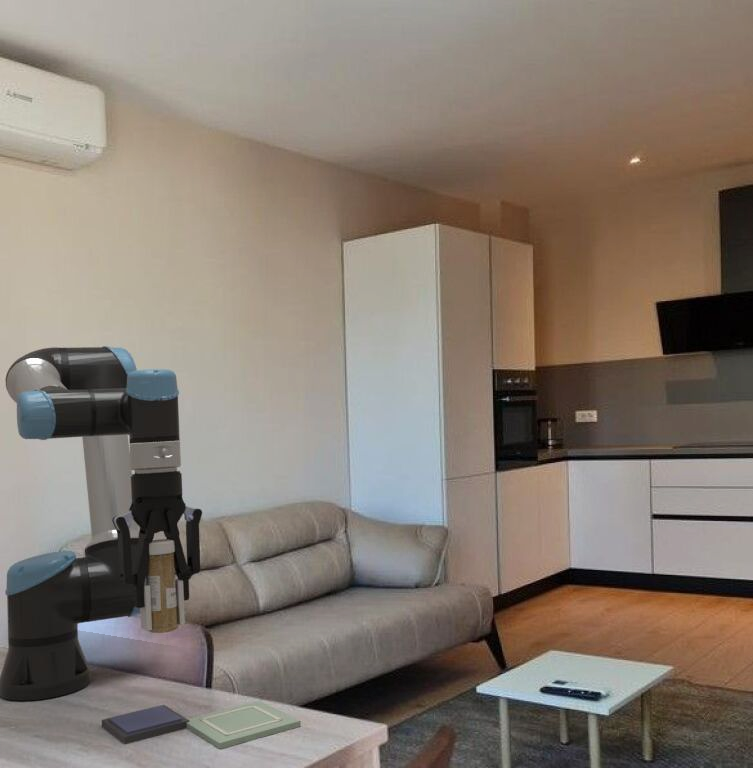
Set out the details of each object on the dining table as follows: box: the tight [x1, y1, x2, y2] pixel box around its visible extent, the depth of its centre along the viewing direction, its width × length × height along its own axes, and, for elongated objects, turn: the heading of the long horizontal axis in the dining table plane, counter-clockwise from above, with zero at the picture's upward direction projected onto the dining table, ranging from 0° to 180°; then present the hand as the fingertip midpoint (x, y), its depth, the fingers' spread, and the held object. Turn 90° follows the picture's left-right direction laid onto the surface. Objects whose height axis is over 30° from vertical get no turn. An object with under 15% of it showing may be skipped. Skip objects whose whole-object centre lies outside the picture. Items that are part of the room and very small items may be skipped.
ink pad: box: [101, 704, 189, 745], centre depth 133 cm, size 10×10×1 cm
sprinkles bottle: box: [146, 538, 179, 634], centre depth 132 cm, size 5×5×13 cm
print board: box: [186, 700, 302, 750], centre depth 131 cm, size 13×13×1 cm
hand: (163, 625), depth 132 cm, fingers closed on sprinkles bottle, 4 cm apart
